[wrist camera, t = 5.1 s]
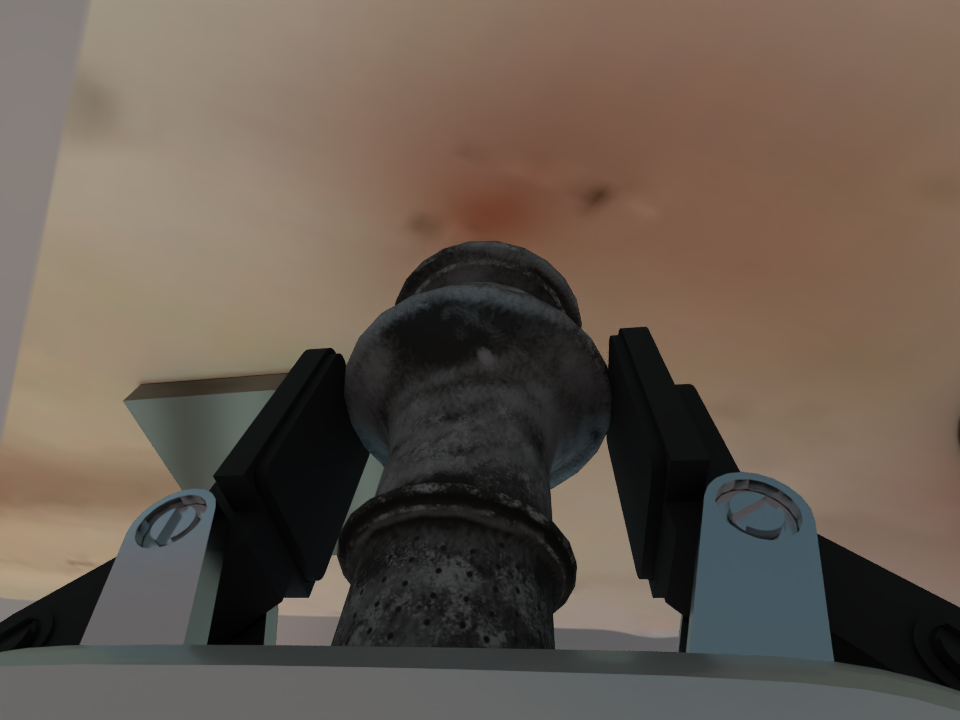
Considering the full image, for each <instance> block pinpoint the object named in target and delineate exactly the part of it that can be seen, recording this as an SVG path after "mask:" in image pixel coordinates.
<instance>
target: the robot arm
mask: <svg viewBox="0 0 960 720" xmlns="http://www.w3.org/2000/svg"><path fill="white" fill-rule="evenodd" d="M345 371H346V364H345V361H344V358H343V356H342V355H341V354H336V352H335V351H334V350H333V349H332V348H323V349H309V350H306V351H305V352H304V353H303V354H302V355H301V357H300V358H299V360H298V361H297V362H296V364H295V365H294V366H293V368H292V369H291V370H290V372H289V373H288V374H287V376H286V377H285V379H284V380H283V381H282V383H281V384H280V385H279V387H278V388H277V389H276V391H275V392H274V393H273V395H272V396H271V398H270V399H269V400H268V402H267V403H266V404H265V406H264V407H263V408H262V410H261V411H260V413H259V414H258V415H257V417H256V418H255V419H254V421H253V422H252V423H251V425H250V426H249V427H248V429H247V430H246V432H245V433H244V434H243V436H242V437H241V438H240V440H239V441H238V442H237V444H236V445H235V446H234V448H233V449H232V451H231V452H230V453H229V455H228V456H227V457H226V459H225V460H224V461H223V463H222V464H221V466H220V467H219V468H218V470H217V471H216V472H215V474H214V475H213V477H214V479H215V481H216V482H215V483H214V485H213V486H212V487H211V489H210V490H209V491H207V490H205V489H188V490H183V491H179V492H177V493H174V494H172V495H169V496H167V497H165V498H163V499H161V500H160V501H158V502H156V503H154V504H153V505H152V506H150V507H149V508H148V509H146V510H145V511H144V512H143V513H142V514H141V515H140V516H139V517H138V518H137V519H136V520H135V521H134V522H133V523H132V525H131V527H130V528H129V530H128V532H127V533H126V536H125V538H124V540H123V543H122V545H121V547H120V550H119V552H118V555H117V557H115V558H114V559H112V560H110V561H108V562H106V563H105V564H103V565H101V566H99V567H97V568H96V569H94V570H92V571H90V572H88V573H87V574H85V575H83V576H81V577H79V578H78V579H76V580H74V581H72V582H70V583H69V584H67V585H65V586H63V587H61V588H60V589H58V590H56V591H54V592H52V593H51V594H49V595H47V596H45V597H43V598H42V599H40V600H38V601H36V602H35V603H33V604H31V605H29V606H27V607H26V608H24V609H22V610H20V611H18V612H16V613H15V614H13V615H11V616H10V617H8V618H7V619H5V620H4V621H2V622H0V720H960V607H958V606H956V605H954V604H952V603H950V602H948V601H946V600H944V599H942V598H940V597H939V596H937V595H935V594H933V593H931V592H929V591H927V590H925V589H923V588H921V587H919V586H917V585H915V584H913V583H911V582H910V581H908V580H906V579H904V578H902V577H900V576H898V575H896V574H894V573H892V572H890V571H888V570H886V569H884V568H882V567H881V566H879V565H877V564H875V563H873V562H871V561H869V560H867V559H865V558H863V557H861V556H859V555H857V554H855V553H853V552H851V551H850V550H848V549H846V548H844V547H842V546H840V545H838V544H836V543H834V542H832V541H830V540H828V539H826V538H824V537H822V536H821V535H819V534H817V530H816V523H815V519H814V516H813V513H812V511H811V508H810V507H809V506H808V504H807V503H806V502H805V501H804V499H803V498H802V497H801V496H800V495H799V494H797V493H796V492H795V491H793V490H792V489H791V488H790V487H788V486H786V485H784V484H782V483H781V482H779V481H777V480H775V479H773V478H769V477H766V476H763V475H759V474H755V473H746V472H740V471H739V469H738V467H737V465H736V463H735V461H734V459H733V458H732V456H731V454H730V452H729V450H728V448H727V446H726V444H725V443H724V441H723V439H722V437H721V435H720V433H719V431H718V430H717V428H716V426H715V424H714V422H713V420H712V418H711V416H710V415H709V413H708V411H707V409H706V407H705V405H704V403H703V401H702V400H701V398H700V396H699V394H698V392H697V390H696V389H695V387H694V386H693V385H691V384H680V385H675V384H674V382H673V380H672V378H671V376H670V373H669V371H668V369H667V367H666V365H665V363H664V361H663V359H662V357H661V355H660V352H659V350H658V348H657V346H656V344H655V342H654V340H653V338H652V336H651V334H650V331H649V329H648V328H647V327H635V328H620V330H619V333H618V335H614V336H610V339H609V364H608V372H609V377H610V382H611V387H612V392H613V400H612V415H611V422H610V427H609V429H608V431H607V433H606V435H607V444H608V449H609V454H610V458H611V463H612V467H613V471H614V476H615V480H616V485H617V489H618V493H619V498H620V502H621V507H622V511H623V515H624V520H625V524H626V529H627V533H628V537H629V542H630V546H631V551H632V555H633V559H634V564H635V568H636V572H637V576H638V578H639V579H648V580H649V584H650V588H651V592H652V596H653V598H665V602H666V603H667V604H669V605H670V606H671V607H673V608H674V609H675V610H677V611H678V612H679V613H681V621H680V630H679V638H678V647H677V652H654V651H653V652H652V651H606V650H605V651H604V650H554V649H502V648H440V647H370V646H291V645H290V646H287V645H276V637H277V623H278V604H279V603H281V602H282V600H283V598H309V596H310V594H311V591H312V589H313V586H314V583H315V581H319V580H321V579H322V578H323V576H324V574H325V572H326V569H327V566H328V564H329V561H330V558H331V556H332V553H333V551H334V548H335V545H336V543H337V540H338V537H339V534H340V532H341V529H342V527H343V524H344V521H345V519H346V516H347V514H348V511H349V508H350V506H351V503H352V500H353V498H354V495H355V492H356V490H357V487H358V484H359V482H360V479H361V476H362V474H363V471H364V469H365V466H366V463H367V461H368V458H369V455H370V452H369V451H368V450H367V449H366V448H365V447H364V445H363V444H362V442H361V440H360V438H359V437H358V435H357V433H356V431H355V430H354V428H353V426H352V424H351V421H350V417H349V413H348V410H347V406H346V403H345V399H344V383H345Z"/></svg>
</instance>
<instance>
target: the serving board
mask: <svg viewBox="0 0 960 720" xmlns="http://www.w3.org/2000/svg"><path fill="white" fill-rule="evenodd" d="M287 374H288V373H286V374H273V375H260V376H247V377H234V378H221V379H207V380H194V381H181V382H168V383H155V384H142V385H140V386H139V387H138V388H137V389H135V390H134V391H133V392H132V393H131V394H130V395H129V396H128V397H127V398H126V399H124V400H123V402H124V403H125V405H126V406H127V408H128V409H129V411H130V412H131V414H132V415H133V417H134V418H135V420H136V421H137V423H138V424H139V426H140V427H141V429H142V430H143V432H144V433H145V435H146V436H147V438H148V439H149V441H150V442H151V444H152V445H153V447H154V448H155V450H156V452H157V453H158V455H159V456H160V458H161V459H162V461H163V462H164V464H165V465H166V467H167V468H168V470H169V471H170V473H171V474H172V476H173V477H174V479H175V480H176V482H177V483H178V485H179V486H180V488H181V489H182V491H183V490H188V489H205V490H207V491H209V490H210V489H211V487H212V486H213V485H214V483H215V482H216V481H215V479H214V477H213V475H214V474H215V472H216V471H217V470H218V468H219V467H220V466H221V464H222V463H223V461H224V460H225V459H226V457H227V456H228V455H229V453H230V452H231V451H232V449H233V448H234V446H235V445H236V444H237V442H238V441H239V440H240V438H241V437H242V436H243V434H244V433H245V432H246V430H247V429H248V427H249V426H250V425H251V423H252V422H253V421H254V419H255V418H256V417H257V415H258V414H259V413H260V411H261V410H262V408H263V407H264V406H265V404H266V403H267V402H268V400H269V399H270V398H271V396H272V395H273V393H274V392H275V391H276V389H277V388H278V387H279V385H280V384H281V383H282V381H283V380H284V379H285V377H286V376H287ZM383 470H384V467H383V466H382V464H381V463H380V462H379V461H378V460H377V459H376V458H375V457H374V456H373V455H372V454H371V453H370V455H369V458H368V461H367V463H366V466H365V469H364V471H363V474H362V476H361V479H360V482H359V484H358V487H357V490H356V492H355V495H354V498H353V500H352V503H351V506H350V508H349V511H348V514H347V516H346V519H345V521H344V524H343V526H344V525H345V523H346V521H347V519H348V518H349V516H350V514H351V513H353V512H354V511H355V510H356V509H358V508H359V507H360V506H361V505H363V504H364V503H365V502H366V501H368V500H369V499H371V498H373V497H374V496H375V493H376V490H377V487H378V484H379V482H380V479H381V476H382V473H383ZM342 528H343V527H342ZM341 530H342V529H341ZM337 549H338V540H337V543H336V545H335V548H334V551H333V553H332V555H337Z"/></svg>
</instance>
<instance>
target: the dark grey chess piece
mask: <svg viewBox="0 0 960 720" xmlns="http://www.w3.org/2000/svg"><path fill="white" fill-rule="evenodd" d="M581 327H582V322H581V317H580V313H579V308H578V304H577V299H576V297H575V296H574V294H573V292H572V290H571V289H570V287H569V285H568V283H567V281H566V280H565V278H564V277H563V276H562V275H561V274H560V273H559V272H558V271H557V270H556V269H555V268H554V267H553V266H552V265H551V264H550V263H549V262H548V261H546V260H545V259H543V258H541V257H539V256H537V255H536V254H534V253H532V252H530V251H528V250H526V249H525V248H522V247H518V246H514V245H510V244H506V243H502V242H498V241H471V242H466V243H462V244H459V245H455V246H452V247H448V248H445V249H443V250H441V251H439V252H438V253H436V254H434V255H433V256H431V257H429V258H428V259H426V260H425V261H423V262H422V263H421V264H420V265H419V266H418V267H417V268H416V269H415V270H414V272H413V273H412V274H411V275H410V276H409V277H408V278H407V279H406V281H405V283H404V285H403V287H402V289H401V291H400V294H399V296H398V298H397V300H396V303H395V306H393V307H392V308H390V309H388V310H386V311H385V312H383V313H381V314H380V315H379V317H378V318H377V319H376V320H375V321H374V322H373V323H372V324H371V325H370V326H369V327H368V328H367V330H366V331H365V332H364V333H363V334H362V335H361V336H360V337H359V339H358V341H357V343H356V345H355V348H354V350H353V352H352V354H351V357H350V359H349V361H348V363H347V366H346V371H345V383H344V399H345V403H346V406H347V410H348V413H349V417H350V421H351V424H352V426H353V428H354V430H355V431H356V433H357V435H358V437H359V438H360V440H361V442H362V444H363V445H364V447H365V448H366V449H367V450H368V451H369V452H370V453H371V454H372V455H373V456H374V457H375V458H376V459H377V460H378V461H379V462H380V463H381V464H382V466H383V467H384V470H383V473H382V476H381V479H380V482H379V484H378V487H377V490H376V493H375V496H374V497H373V498H371V499H369V500H368V501H366V502H365V503H364V504H363V505H361V506H360V507H359V508H358V509H356V510H355V511H354V512H353V513H351V514H350V516H349V518H348V519H347V521H346V523H345V525H344V526H343V528H342V530H341V532H340V534H339V537H338V549H337V558H338V561H339V563H340V566H341V569H342V572H343V575H344V576H345V578H346V579H347V580H348V582H349V583H350V584H351V586H350V589H349V592H348V595H347V598H346V601H345V604H344V607H343V610H342V613H341V616H340V620H339V623H338V626H337V629H336V632H335V635H334V638H333V641H332V644H331V646H370V647H440V648H502V649H554V650H555V642H554V624H553V613H555V612H556V611H557V610H558V609H559V608H560V607H562V606H563V605H564V604H565V603H566V601H567V600H568V598H569V596H570V594H571V593H572V591H573V589H574V587H575V582H576V571H577V564H576V560H575V557H574V554H573V551H572V548H571V545H570V542H569V541H568V540H567V538H566V537H565V536H564V535H563V533H562V532H561V531H560V530H559V529H558V527H557V526H556V525H555V524H554V522H552V508H551V493H550V489H552V488H554V487H556V486H557V485H559V484H560V483H562V482H563V481H565V480H567V479H568V478H570V477H571V476H573V475H574V474H576V473H578V472H579V471H580V470H581V469H582V467H583V466H584V465H585V464H586V463H587V462H588V461H589V460H590V459H591V458H592V457H593V456H594V455H595V454H596V453H597V451H598V449H599V447H600V445H601V443H602V441H603V439H604V437H605V435H606V433H607V431H608V429H609V427H610V422H611V415H612V400H613V392H612V387H611V382H610V377H609V372H608V367H607V365H606V363H605V362H604V360H603V358H602V356H601V355H600V353H599V351H598V349H597V348H596V346H595V344H594V342H593V341H592V339H591V338H590V337H589V336H588V335H587V334H586V333H585V332H584V331H583V330H582V329H581Z"/></svg>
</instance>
